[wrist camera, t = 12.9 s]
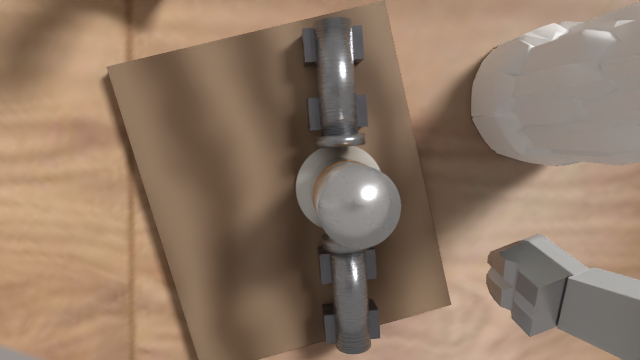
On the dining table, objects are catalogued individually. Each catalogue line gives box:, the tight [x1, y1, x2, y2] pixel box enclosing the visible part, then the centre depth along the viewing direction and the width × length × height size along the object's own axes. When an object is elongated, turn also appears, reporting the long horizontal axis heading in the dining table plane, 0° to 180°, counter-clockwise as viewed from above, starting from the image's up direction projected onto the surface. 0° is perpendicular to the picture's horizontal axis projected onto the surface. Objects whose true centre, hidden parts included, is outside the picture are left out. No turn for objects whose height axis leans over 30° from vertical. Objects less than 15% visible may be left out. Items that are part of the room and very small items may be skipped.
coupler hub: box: [309, 157, 401, 249], centre depth 29 cm, size 5×5×9 cm
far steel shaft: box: [317, 234, 380, 354], centre depth 32 cm, size 9×4×4 cm, turn 4°
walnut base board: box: [107, 1, 451, 360], centre depth 34 cm, size 22×26×2 cm
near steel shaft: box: [301, 17, 368, 148], centre depth 31 cm, size 9×4×4 cm, turn 4°
